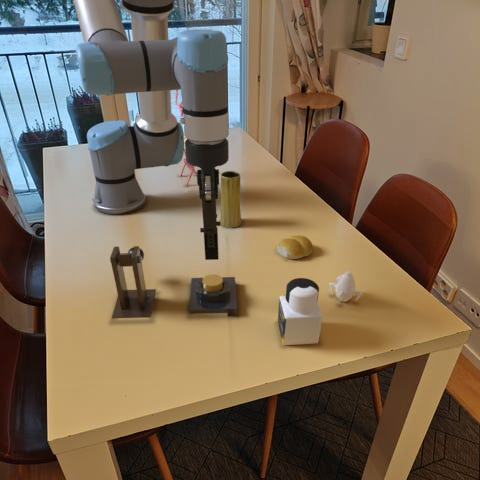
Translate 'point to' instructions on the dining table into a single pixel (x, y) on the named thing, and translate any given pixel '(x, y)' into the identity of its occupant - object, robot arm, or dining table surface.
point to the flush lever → (128, 258)
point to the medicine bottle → (300, 313)
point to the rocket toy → (345, 287)
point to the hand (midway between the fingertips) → (211, 257)
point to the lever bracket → (131, 300)
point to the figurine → (184, 149)
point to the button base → (213, 298)
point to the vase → (230, 199)
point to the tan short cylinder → (212, 283)
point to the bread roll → (295, 247)
